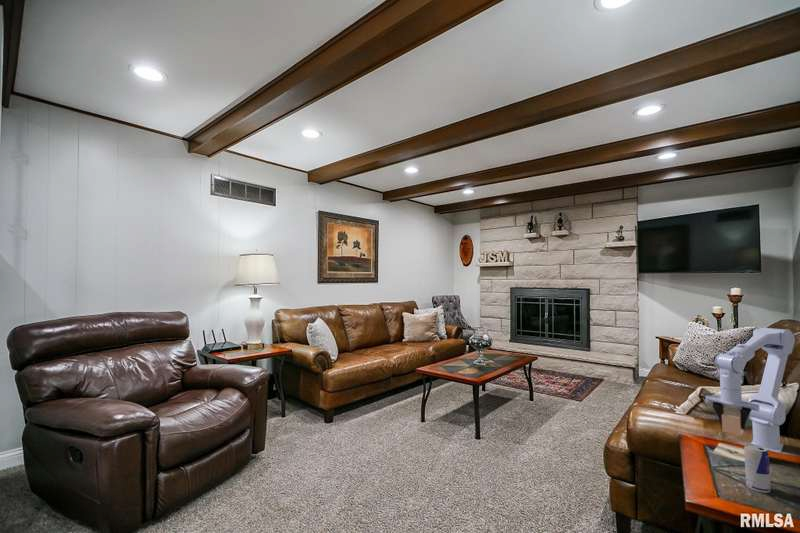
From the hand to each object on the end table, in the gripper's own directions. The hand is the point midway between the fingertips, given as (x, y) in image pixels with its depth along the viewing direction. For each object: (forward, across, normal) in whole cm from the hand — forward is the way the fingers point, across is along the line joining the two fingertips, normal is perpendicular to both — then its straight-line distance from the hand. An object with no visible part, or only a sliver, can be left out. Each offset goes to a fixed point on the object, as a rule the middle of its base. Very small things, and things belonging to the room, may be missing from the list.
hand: (732, 426), depth 136 cm
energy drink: (+10, +9, -24) cm, 28 cm away
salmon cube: (+2, 0, 0) cm, 2 cm away
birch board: (+9, 0, 0) cm, 9 cm away
